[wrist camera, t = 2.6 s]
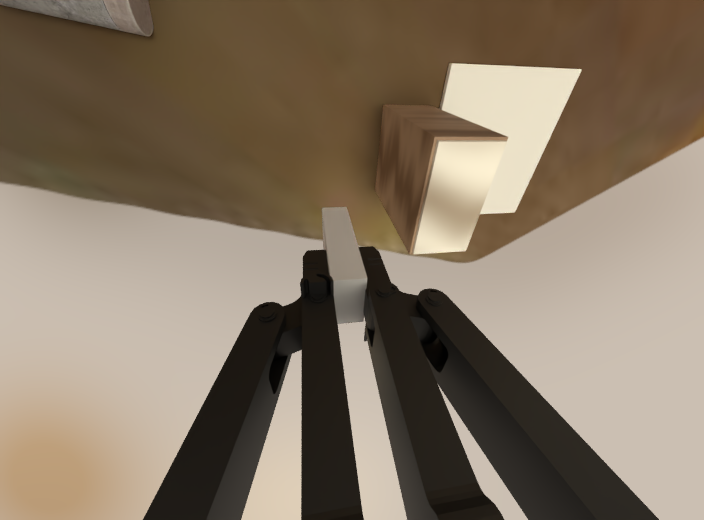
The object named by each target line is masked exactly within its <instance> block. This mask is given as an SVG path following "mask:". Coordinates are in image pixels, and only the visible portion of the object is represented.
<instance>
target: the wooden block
mask: <svg viewBox="0 0 704 520" xmlns="http://www.w3.org/2000/svg"><path fill="white" fill-rule="evenodd" d="M507 140H508V137H507V136H505V135H502V134H500V133H497V132H495V131H492V130H490V129H488V128H485V127H483V126H480V125H478V124H475V123H473V122H470V121H468V120H465V119H463V118H460V117H458V116H455V115H453V114H451V113H448V112H446V111H443V110H441V109H438V108H436V107H433V106H431V105H389V104H383V113H382V123H381V133H380V144H379V154H378V164H377V175H376V185H375V191H376V193H377V195H378V197H379V198H380V200H381V202H382V204H383V206H384V208H385V210H386V212H387V213H388V215H389V217H390V219H391V221H392V223H393V225H394V226H395V228H396V230H397V232H398V234H399V236H400V238H401V240H402V241H403V243H404V245H405V247H406V249H407V251H408V253H409V254H426V253H442V252H458V251H466V249H467V246H468V244H469V241H470V238H471V236H472V233H473V231H474V228H475V225H476V223H477V220H478V217H479V215H480V212H481V209H482V207H483V204H484V202H485V199H486V196H487V194H488V191H489V188H490V186H491V183H492V180H493V178H494V175H495V173H496V170H497V167H498V165H499V162H500V159H501V157H502V154H503V151H504V149H505V146H506V144H507Z"/></svg>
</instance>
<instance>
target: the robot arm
mask: <svg viewBox="0 0 704 520" xmlns="http://www.w3.org/2000/svg"><path fill="white" fill-rule="evenodd" d="M322 223H323V247H324V250H311V251H307V252H306V253H305V255H304V256H303V278H302V279H301V282H300V286H301V297H300V298H299V299H298V300H297V301H295V302H293V303H291V304H289V305H286V306H281V305H280V304H279V303H275V302H266V303H263V304H260V305H259V306H257V307H256V308H254V309H253V311H252V312H251V313H250V316H249V317H248V319H247V321H246V323H245V325H244V327H243V329H242V331H241V333H240V335H239V337H238V338H237V340H236V342H235V344H234V346H233V348H232V350H231V352H230V354H229V356H228V358H227V359H226V361H225V363H224V365H223V367H222V369H221V371H220V373H219V375H218V377H217V379H216V381H215V382H214V385H213V386H212V388H211V390H210V392H209V394H208V396H207V398H206V400H205V402H204V404H203V405H202V407H201V409H200V411H199V413H198V415H197V417H196V419H195V421H194V423H193V425H192V427H191V429H190V430H189V432H188V434H187V436H186V438H185V440H184V442H183V444H182V446H181V448H180V450H179V452H178V453H177V456H176V457H175V459H174V461H173V463H172V465H171V467H170V469H169V471H168V473H167V475H166V477H165V478H164V480H163V483H162V484H161V486H160V488H159V490H158V492H157V494H156V496H155V498H154V500H153V502H152V503H151V505H150V507H149V509H148V511H147V513H146V515H145V517H144V519H143V520H241V518H242V514H243V511H244V508H245V504H246V501H247V498H248V495H249V492H250V488H251V485H252V482H253V479H254V475H255V472H256V469H257V465H258V462H259V459H260V456H261V452H262V449H263V446H264V443H265V440H266V436H267V433H268V430H269V427H270V423H271V420H272V417H273V414H274V410H275V407H276V404H277V400H278V397H279V394H280V391H281V387H282V384H283V381H284V378H285V374H286V371H287V368H288V365H289V362H290V358H291V354H292V353H295V352H297V351H299V350H302V498H301V500H302V501H301V502H302V504H301V509H302V510H301V511H302V512H301V515H302V517H301V520H364V518H363V514H362V506H361V499H360V491H359V484H358V476H357V468H356V461H355V453H354V447H353V438H352V430H351V423H350V415H349V408H348V401H347V393H346V386H345V378H344V370H343V363H342V355H341V347H340V341H339V332H338V325H337V324H341V323H352V322H362V321H363V319H364V317H365V321H366V326H365V336H364V341H368V345H369V350H370V354H371V359H372V363H373V367H374V372H375V377H376V381H377V385H378V390H379V394H380V399H381V404H382V408H383V413H384V417H385V421H386V426H387V430H388V435H389V439H390V444H391V448H392V452H393V457H394V462H395V466H396V470H397V475H398V479H399V484H400V489H401V493H402V498H403V502H404V506H405V511H406V515H407V520H504V519H503V516H502V514H501V513H500V511H499V510H498V508H497V507H496V505H495V504H494V503H493V502H492V501H491V500H490V499H489V498H488V497H486V496H485V495H484V493H483V492H482V490H481V488H480V486H479V484H478V482H477V480H476V477H475V475H474V472H473V470H472V468H471V465H470V463H469V460H468V458H467V455H466V453H465V450H464V448H463V445H462V443H461V440H460V438H459V436H458V433H457V431H456V428H455V426H454V423H453V421H452V418H451V416H450V414H449V411H448V409H447V406H446V404H445V401H444V399H443V396H442V394H441V392H440V389H439V387H438V385H439V386H440V388H441V389H442V391H443V392H444V394H445V395H446V397H447V398H448V400H449V401H450V403H451V404H452V406H453V407H454V409H455V410H456V412H457V413H458V415H459V416H460V418H461V419H462V421H463V422H464V424H465V425H466V427H467V428H468V430H469V431H470V433H471V434H472V436H473V437H474V439H475V440H476V442H477V443H478V445H479V446H480V448H481V449H482V451H483V452H484V454H485V455H486V457H487V458H488V460H489V461H490V463H491V464H492V466H493V467H494V469H495V470H496V472H497V473H498V475H499V476H500V478H501V479H502V481H503V482H504V484H505V485H506V487H507V488H508V490H509V491H510V493H511V494H512V496H513V497H514V499H515V500H516V502H517V503H518V505H519V506H520V508H521V509H522V511H523V512H524V513H525V515H526V517H527V518H528V520H659V519H658V518H657V517H656V516H655V515H654V514H653V513H652V512H651V511H650V510H649V509H648V507H647V506H646V505H645V504H644V503H643V502H642V501H641V500H640V499H639V498H638V497H637V496H636V495H635V494H634V493H633V492H632V491H631V490H630V488H629V487H628V486H627V485H626V484H625V483H624V482H623V481H622V480H621V479H620V478H619V477H618V476H617V475H616V474H615V473H614V472H613V471H612V470H611V468H610V467H609V466H608V465H607V464H606V463H605V462H604V461H603V460H602V459H601V458H600V457H599V456H598V455H597V454H596V453H595V451H594V450H593V449H591V447H590V446H589V445H588V444H587V443H586V442H585V441H584V440H583V439H582V438H581V437H580V436H579V435H578V434H577V433H576V432H575V430H573V428H572V427H571V426H570V425H569V424H568V423H567V422H566V421H565V420H564V419H563V418H562V417H561V416H560V415H559V414H558V412H557V411H556V410H555V409H554V408H553V407H552V406H551V405H550V404H549V403H548V402H547V401H546V400H545V399H544V398H543V397H542V396H541V395H540V393H539V392H537V390H536V389H535V388H534V387H533V386H532V385H531V384H530V383H529V382H528V381H527V380H526V379H525V378H524V377H523V376H522V374H521V373H520V372H519V371H517V369H516V368H515V367H514V366H513V365H512V364H511V363H510V362H509V361H508V360H507V359H506V358H505V357H504V356H503V354H502V353H501V352H500V351H499V350H498V349H497V348H496V347H495V346H494V345H493V344H492V343H491V342H490V341H489V340H488V339H487V338H486V336H485V335H484V334H483V333H482V332H481V331H480V330H479V329H478V328H477V327H476V326H475V325H474V324H473V323H472V322H471V321H470V320H469V319H468V318H467V316H465V314H464V313H463V312H462V311H461V310H460V309H459V308H458V307H457V306H456V305H455V304H454V303H453V302H452V301H451V300H450V299H449V297H447V295H445V294H444V293H443V292H441V291H439V290H436V289H424V290H422V291H421V292H420V293H419V295H412V294H406V293H403V292H401V291H399V289H398V288H397V287H396V286H395V285H394V284H392V283H391V282H390V279H389V276H388V274H387V271H386V269H385V266H384V264H383V261H382V259H381V256H380V253H379V251H378V250H376V249H375V248H374V247H373V246H372V247H358V244H357V241H356V237H355V234H354V230H353V227H352V224H351V220H350V217H349V213H348V210H347V207H331V208H322ZM437 383H438V384H437Z"/></svg>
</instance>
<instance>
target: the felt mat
mask: <svg viewBox="0 0 704 520" xmlns="http://www.w3.org/2000/svg"><path fill="white" fill-rule="evenodd" d="M581 70H582V69H564V68H543V67H521V66H500V65H478V64H457V63H449V66H448V71H447V75H446V80H445V85H444V89H443V94H442V99H441V103H440V108H439V109H441V110H443V111H446V112H448V113H451V114H453V115H455V116H458V117H460V118H463V119H465V120H468V121H470V122H473V123H475V124H478V125H480V126H483V127H485V128H488V129H490V130H492V131H495V132H497V133H500V134H502V135H505V136H507V137H508V140H507V144H506V146H505V149H504V151H503V154H502V157H501V159H500V162H499V165H498V167H497V170H496V173H495V175H494V178H493V180H492V183H491V186H490V188H489V191H488V194H487V196H486V199H485V202H484V204H483V207H482V209H481V212H480V214H489V213H514V212H515V211H516V209H517V207H518V204H519V202H520V200H521V198H522V196H523V194H524V192H525V190H526V187H527V185H528V183H529V181H530V179H531V177H532V175H533V173H534V170H535V168H536V166H537V164H538V162H539V160H540V158H541V156H542V153H543V151H544V149H545V147H546V145H547V143H548V141H549V139H550V136H551V134H552V132H553V130H554V128H555V126H556V124H557V122H558V119H559V117H560V115H561V113H562V111H563V109H564V107H565V104H566V102H567V100H568V98H569V96H570V94H571V92H572V90H573V87H574V85H575V83H576V81H577V79H578V77H579V75H580V73H581Z"/></svg>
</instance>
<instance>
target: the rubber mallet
mask: <svg viewBox="0 0 704 520" xmlns="http://www.w3.org/2000/svg"><path fill="white" fill-rule="evenodd" d="M0 5H4V6H8V7H13V8H18V9H22V10H27V11H31V12H36V13H41V14H45V15H50V16H55V17H59V18H64V19H69V20H73V21H78V22H83V23H87V24H92V25H97V26H101V27H106V28H111V29H115V30H120V31H125V32H129V33H134V34H139V35H143V36H151V34H152V32H153V28H154V26H153V21H152V16H151V12H150V7H149V2H148V0H0Z"/></svg>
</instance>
